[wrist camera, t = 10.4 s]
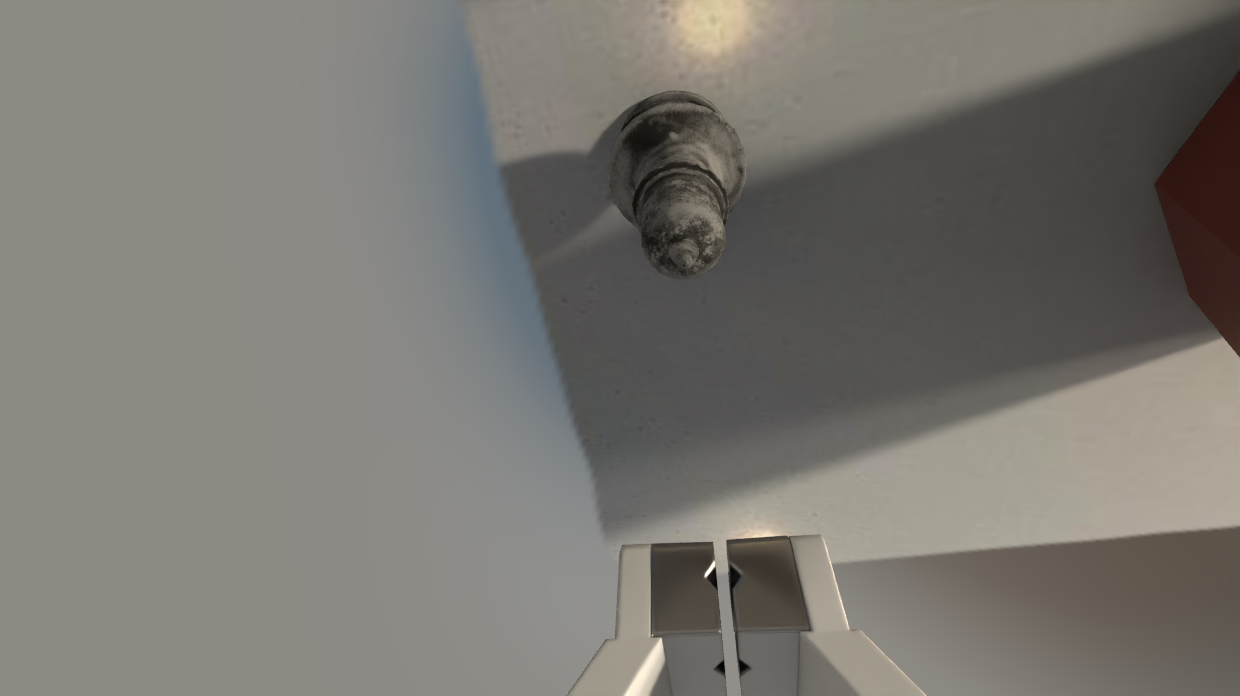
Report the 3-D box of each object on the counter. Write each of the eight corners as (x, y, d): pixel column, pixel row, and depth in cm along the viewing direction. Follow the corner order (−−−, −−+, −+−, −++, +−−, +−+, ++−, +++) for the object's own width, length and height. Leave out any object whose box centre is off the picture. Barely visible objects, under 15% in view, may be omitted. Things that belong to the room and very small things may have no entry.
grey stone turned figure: (705, 225, 32) (730, 363, 22) (595, 184, 31) (569, 310, 21) (759, 112, 29) (816, 213, 19) (638, 63, 28) (631, 142, 18)
